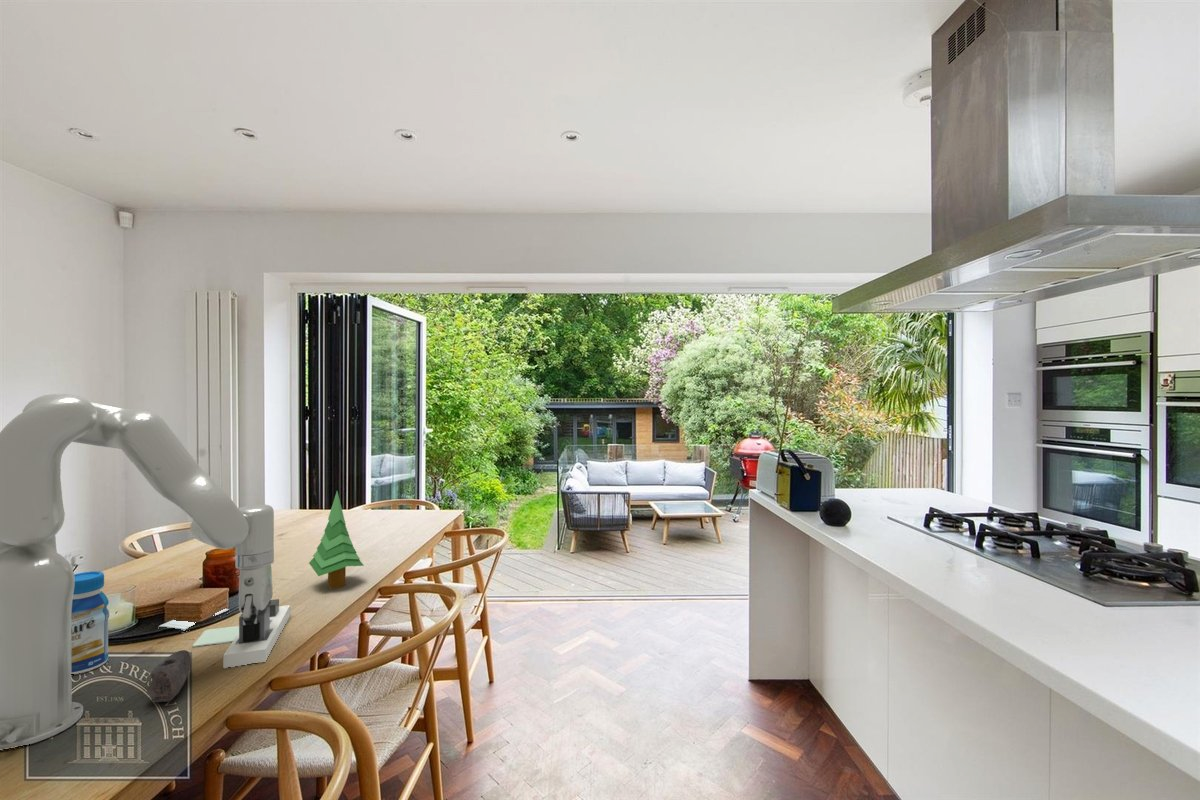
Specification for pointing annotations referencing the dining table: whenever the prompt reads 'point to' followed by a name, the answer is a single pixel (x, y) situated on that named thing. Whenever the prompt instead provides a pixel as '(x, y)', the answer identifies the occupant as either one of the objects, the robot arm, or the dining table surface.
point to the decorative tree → (335, 549)
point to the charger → (264, 625)
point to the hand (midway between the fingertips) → (254, 634)
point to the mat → (217, 636)
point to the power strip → (259, 649)
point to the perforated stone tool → (169, 676)
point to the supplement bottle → (89, 623)
